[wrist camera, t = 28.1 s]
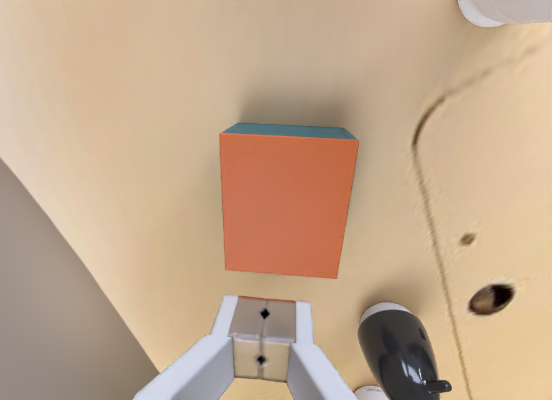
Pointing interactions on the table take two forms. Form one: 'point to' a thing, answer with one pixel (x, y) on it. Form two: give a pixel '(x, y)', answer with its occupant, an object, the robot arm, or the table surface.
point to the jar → (506, 11)
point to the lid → (285, 202)
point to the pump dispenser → (400, 353)
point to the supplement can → (370, 393)
